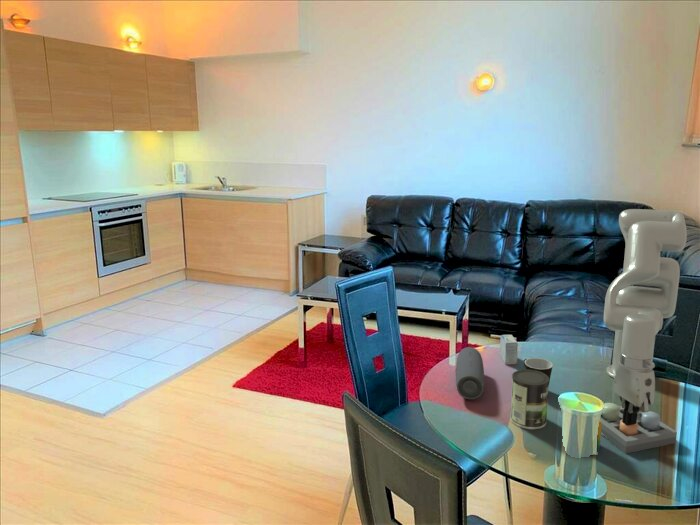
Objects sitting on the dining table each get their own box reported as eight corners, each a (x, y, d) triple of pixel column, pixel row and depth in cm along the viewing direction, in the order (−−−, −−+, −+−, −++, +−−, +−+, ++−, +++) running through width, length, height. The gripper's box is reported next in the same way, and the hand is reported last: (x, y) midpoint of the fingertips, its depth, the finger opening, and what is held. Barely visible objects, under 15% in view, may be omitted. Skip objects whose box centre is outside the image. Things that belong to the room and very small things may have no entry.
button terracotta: (628, 428, 150) (630, 417, 149) (640, 436, 146) (642, 425, 145) (615, 430, 149) (616, 420, 148) (627, 439, 145) (628, 428, 144)
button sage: (611, 411, 156) (612, 401, 155) (622, 419, 152) (623, 409, 151) (598, 414, 155) (599, 404, 154) (609, 421, 151) (610, 411, 150)
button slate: (650, 420, 151) (651, 409, 150) (663, 428, 147) (664, 417, 146) (637, 422, 150) (638, 412, 149) (649, 431, 146) (650, 420, 145)
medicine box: (517, 364, 196) (518, 342, 194) (504, 365, 196) (505, 342, 194) (511, 355, 204) (512, 334, 202) (499, 356, 204) (500, 334, 202)
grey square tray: (631, 414, 161) (632, 403, 160) (675, 443, 146) (676, 431, 145) (585, 422, 157) (586, 411, 157) (625, 453, 142) (626, 441, 142)
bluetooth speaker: (455, 370, 193) (456, 344, 191) (482, 372, 191) (483, 346, 189) (454, 402, 172) (455, 373, 169) (484, 404, 170) (485, 375, 167)
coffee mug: (552, 398, 171) (554, 370, 169) (524, 397, 173) (526, 368, 171) (547, 382, 182) (549, 354, 180) (520, 380, 184) (522, 353, 182)
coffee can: (550, 416, 161) (553, 373, 158) (542, 433, 153) (544, 388, 149) (515, 408, 167) (517, 366, 163) (505, 423, 158) (507, 380, 155)
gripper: (670, 370, 136) (662, 435, 140) (627, 348, 150) (621, 408, 154) (645, 374, 134) (638, 440, 138) (604, 351, 148) (598, 412, 152)
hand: (629, 423), depth 146 cm, fingers closed
